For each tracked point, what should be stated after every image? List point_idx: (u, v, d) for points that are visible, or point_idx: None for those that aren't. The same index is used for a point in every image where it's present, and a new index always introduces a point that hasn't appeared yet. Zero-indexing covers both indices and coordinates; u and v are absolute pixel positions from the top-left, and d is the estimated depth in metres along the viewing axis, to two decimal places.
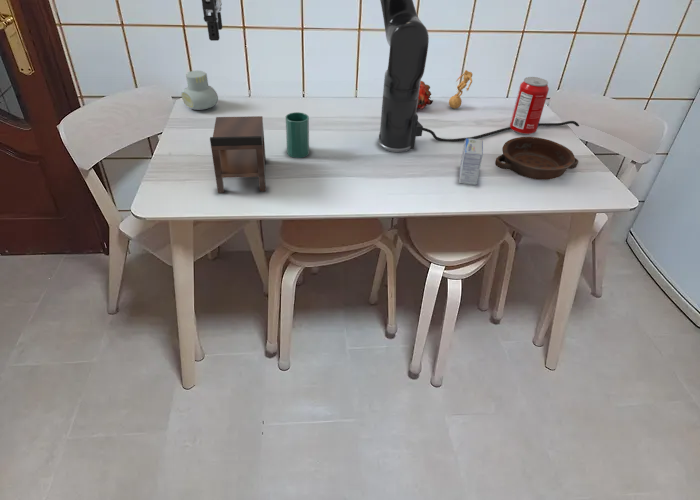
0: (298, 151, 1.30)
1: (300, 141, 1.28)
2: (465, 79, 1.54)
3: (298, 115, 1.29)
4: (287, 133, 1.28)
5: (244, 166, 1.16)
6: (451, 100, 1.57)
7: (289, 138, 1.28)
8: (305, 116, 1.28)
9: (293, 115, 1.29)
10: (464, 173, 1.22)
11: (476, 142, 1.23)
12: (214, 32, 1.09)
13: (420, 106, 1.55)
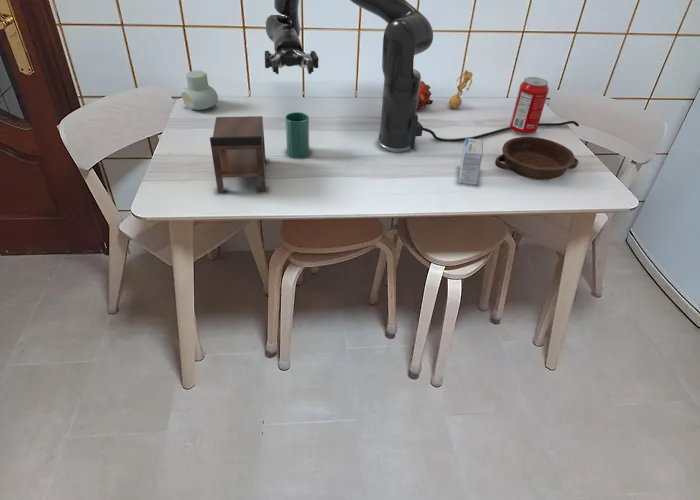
0: (298, 151, 1.30)
1: (300, 141, 1.28)
2: (465, 79, 1.54)
3: (298, 115, 1.29)
4: (287, 133, 1.28)
5: (244, 166, 1.16)
6: (451, 100, 1.57)
7: (289, 138, 1.28)
8: (305, 116, 1.28)
9: (293, 115, 1.29)
10: (464, 173, 1.22)
11: (476, 142, 1.23)
12: (272, 66, 1.30)
13: (420, 106, 1.55)
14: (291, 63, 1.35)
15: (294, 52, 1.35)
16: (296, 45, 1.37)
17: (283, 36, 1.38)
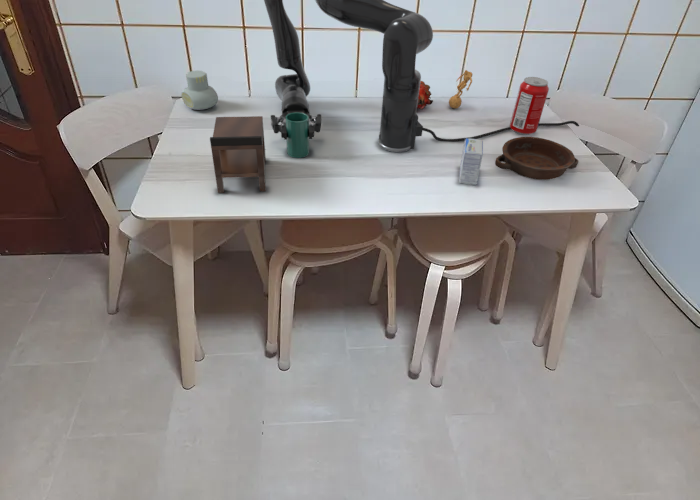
0: (298, 151, 1.30)
1: (300, 141, 1.28)
2: (465, 79, 1.54)
3: (298, 115, 1.29)
4: (287, 133, 1.28)
5: (244, 166, 1.16)
6: (451, 100, 1.57)
7: (289, 138, 1.28)
8: (305, 116, 1.28)
9: (293, 115, 1.29)
10: (464, 173, 1.22)
11: (476, 142, 1.23)
12: (281, 132, 1.28)
13: (420, 106, 1.55)
14: None
15: None
16: (302, 107, 1.35)
17: (289, 98, 1.37)
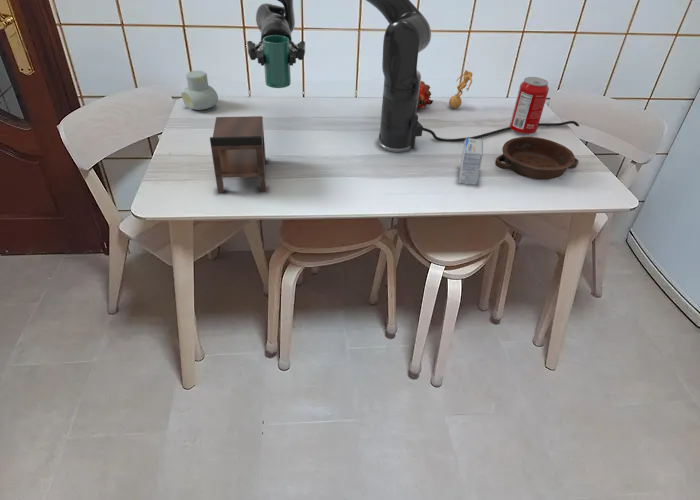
0: (278, 80, 1.14)
1: (279, 67, 1.12)
2: (465, 79, 1.54)
3: (277, 38, 1.13)
4: (265, 58, 1.12)
5: (244, 166, 1.16)
6: (451, 100, 1.57)
7: (267, 64, 1.12)
8: (285, 39, 1.13)
9: (272, 38, 1.13)
10: (464, 173, 1.22)
11: (476, 142, 1.23)
12: (257, 56, 1.12)
13: (420, 106, 1.55)
14: None
15: None
16: (283, 34, 1.20)
17: (269, 24, 1.21)
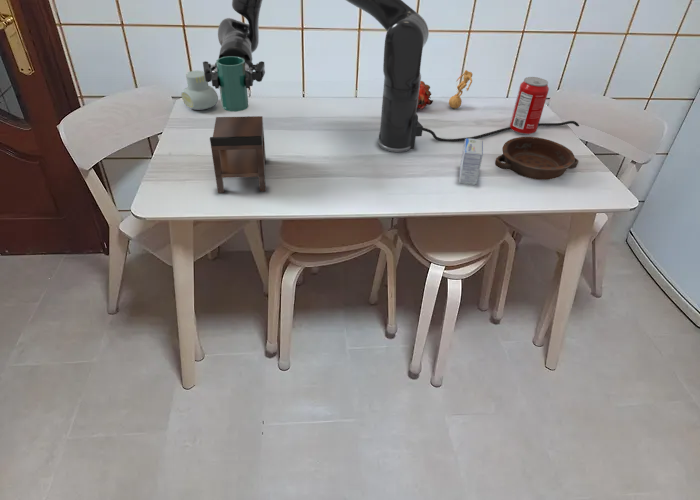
0: (234, 103, 1.08)
1: (235, 90, 1.07)
2: (465, 79, 1.54)
3: (233, 60, 1.08)
4: (219, 81, 1.06)
5: (244, 166, 1.16)
6: (451, 100, 1.57)
7: (222, 87, 1.07)
8: (241, 60, 1.07)
9: (227, 59, 1.07)
10: (464, 173, 1.22)
11: (476, 142, 1.23)
12: None
13: (420, 106, 1.55)
14: None
15: None
16: (242, 54, 1.14)
17: (227, 43, 1.15)
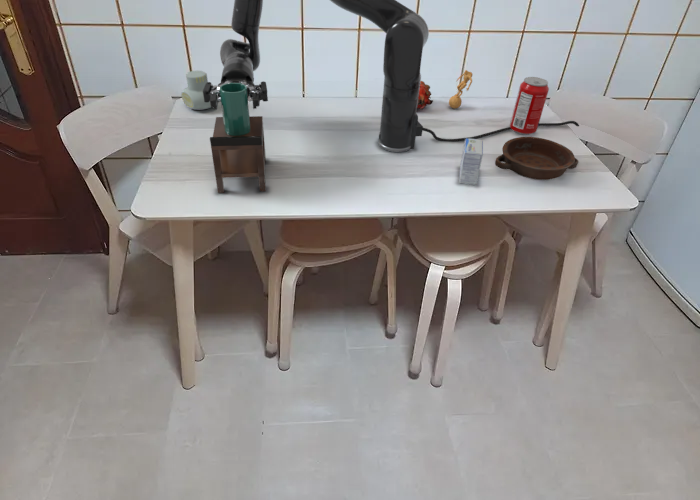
0: (236, 128, 1.12)
1: (237, 116, 1.10)
2: (465, 79, 1.54)
3: (236, 86, 1.11)
4: (222, 106, 1.10)
5: (244, 166, 1.16)
6: (451, 100, 1.57)
7: (225, 112, 1.10)
8: (243, 87, 1.10)
9: (230, 86, 1.11)
10: (464, 173, 1.22)
11: (476, 142, 1.23)
12: (210, 100, 1.10)
13: (420, 106, 1.55)
14: None
15: None
16: (244, 75, 1.17)
17: (229, 65, 1.18)
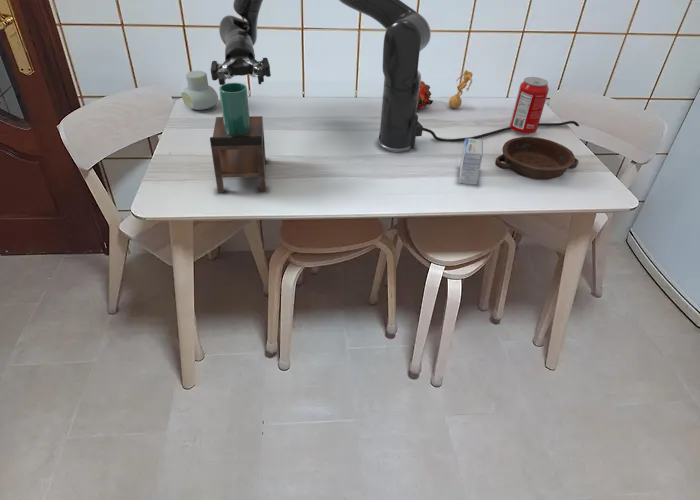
0: (236, 128, 1.12)
1: (237, 116, 1.10)
2: (465, 79, 1.54)
3: (236, 86, 1.11)
4: (222, 106, 1.10)
5: (244, 166, 1.16)
6: (451, 100, 1.57)
7: (225, 112, 1.10)
8: (243, 87, 1.10)
9: (230, 86, 1.11)
10: (464, 173, 1.22)
11: (476, 142, 1.23)
12: None
13: (420, 106, 1.55)
14: (241, 73, 1.24)
15: (243, 61, 1.24)
16: (246, 52, 1.26)
17: (232, 43, 1.27)
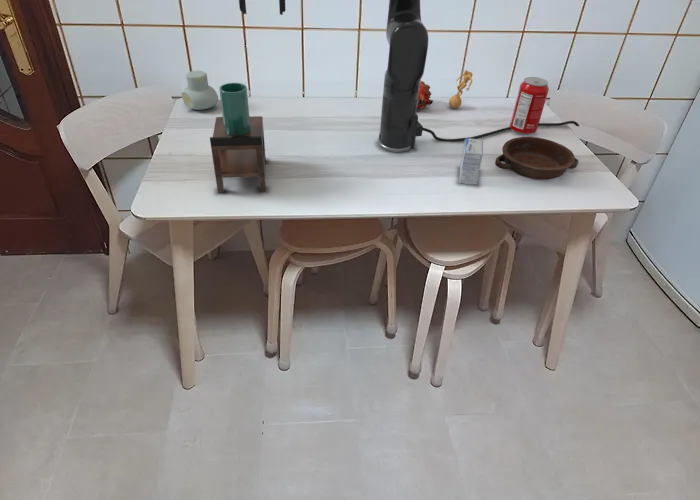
0: (236, 128, 1.12)
1: (237, 116, 1.10)
2: (465, 79, 1.54)
3: (236, 86, 1.11)
4: (222, 106, 1.10)
5: (244, 166, 1.16)
6: (451, 100, 1.57)
7: (225, 112, 1.10)
8: (243, 87, 1.10)
9: (230, 86, 1.11)
10: (464, 173, 1.22)
11: (476, 142, 1.23)
12: None
13: (420, 106, 1.55)
14: None
15: None
16: None
17: None
